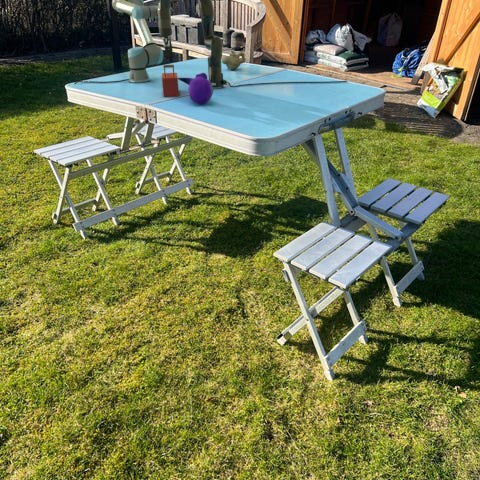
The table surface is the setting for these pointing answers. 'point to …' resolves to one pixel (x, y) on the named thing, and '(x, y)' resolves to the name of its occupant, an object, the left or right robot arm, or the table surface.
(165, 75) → the lid
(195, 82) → the toy
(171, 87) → the chest
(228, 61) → the teapot
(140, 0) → the left robot arm
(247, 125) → the table surface
